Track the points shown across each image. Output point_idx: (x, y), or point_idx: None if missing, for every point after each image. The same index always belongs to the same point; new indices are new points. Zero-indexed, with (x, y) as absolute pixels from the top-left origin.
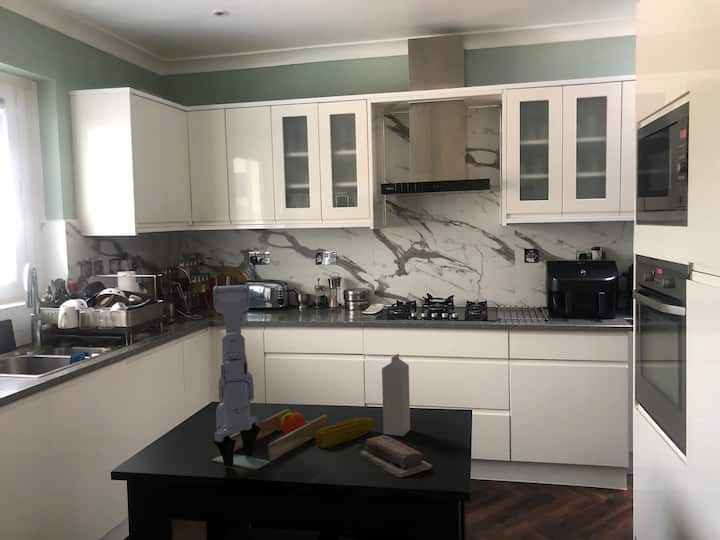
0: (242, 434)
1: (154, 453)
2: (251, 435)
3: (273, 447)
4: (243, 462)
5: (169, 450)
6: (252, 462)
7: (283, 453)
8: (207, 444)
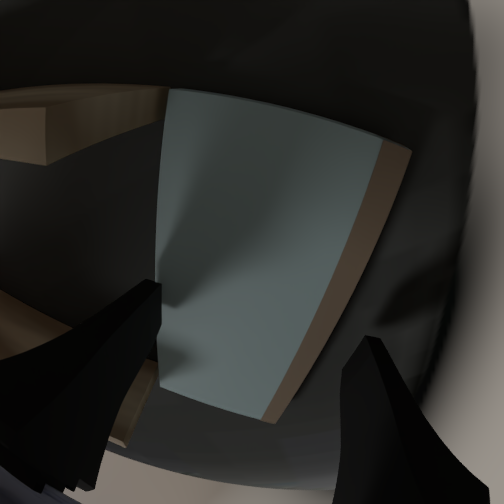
0: (100, 447)
1: (233, 478)
2: (69, 412)
3: (51, 98)
4: (267, 295)
5: (204, 466)
6: (246, 232)
7: (34, 88)
8: None
